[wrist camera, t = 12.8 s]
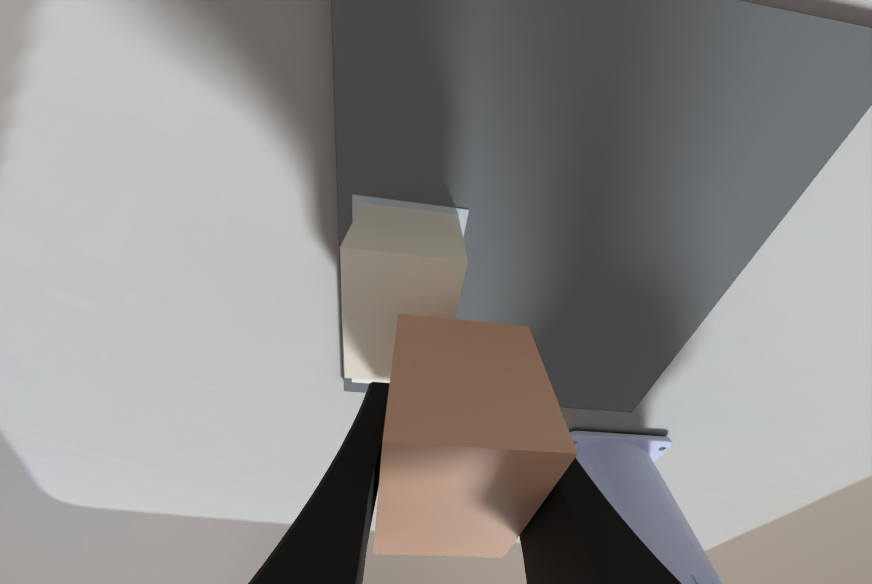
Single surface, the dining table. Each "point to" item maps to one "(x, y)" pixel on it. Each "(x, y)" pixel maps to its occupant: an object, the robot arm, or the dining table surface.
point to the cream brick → (395, 280)
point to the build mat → (592, 157)
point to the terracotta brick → (466, 439)
